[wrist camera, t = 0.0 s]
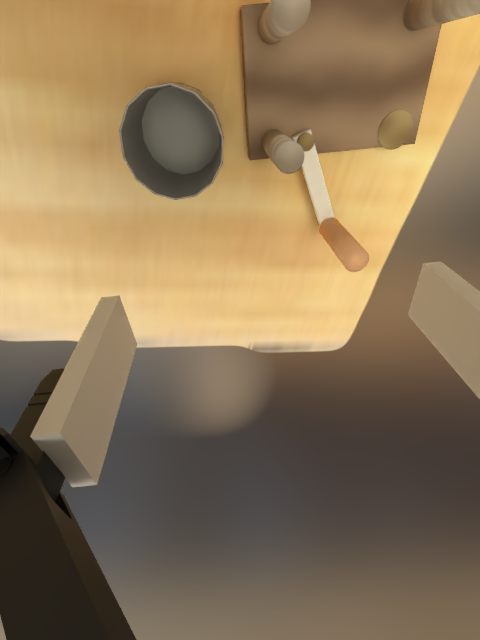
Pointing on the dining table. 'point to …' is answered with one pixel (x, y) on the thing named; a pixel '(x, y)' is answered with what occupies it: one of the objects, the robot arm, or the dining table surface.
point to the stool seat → (338, 73)
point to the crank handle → (330, 214)
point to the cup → (172, 140)
